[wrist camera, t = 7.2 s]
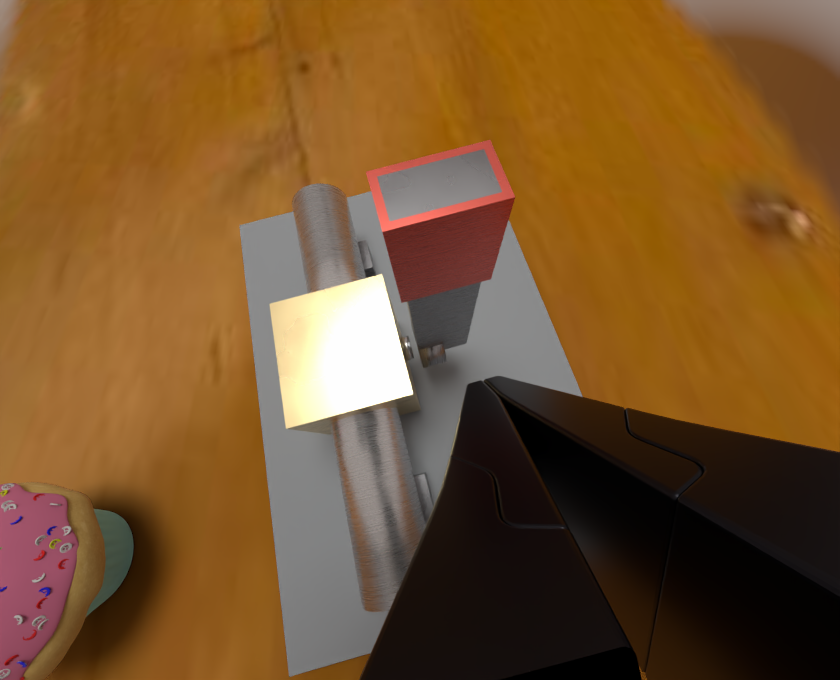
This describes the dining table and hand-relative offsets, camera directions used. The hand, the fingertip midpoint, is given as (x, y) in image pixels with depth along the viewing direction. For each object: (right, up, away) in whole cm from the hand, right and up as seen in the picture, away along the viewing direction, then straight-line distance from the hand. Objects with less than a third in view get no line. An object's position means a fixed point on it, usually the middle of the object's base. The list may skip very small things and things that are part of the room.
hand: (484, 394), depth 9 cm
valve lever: (-1, +1, +10) cm, 10 cm away
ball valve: (-5, -1, +12) cm, 13 cm away
